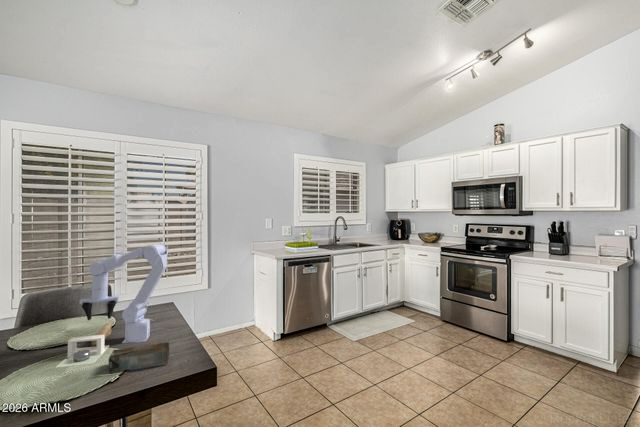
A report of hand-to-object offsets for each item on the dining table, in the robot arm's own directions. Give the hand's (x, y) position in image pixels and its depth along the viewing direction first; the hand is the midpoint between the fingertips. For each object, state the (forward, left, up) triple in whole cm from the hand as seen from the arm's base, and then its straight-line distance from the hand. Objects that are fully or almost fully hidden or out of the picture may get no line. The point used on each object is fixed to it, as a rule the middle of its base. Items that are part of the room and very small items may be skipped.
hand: (99, 318), depth 139 cm
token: (-1, +21, -9) cm, 23 cm away
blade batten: (-1, -1, -10) cm, 10 cm away
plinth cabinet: (-1, +16, -10) cm, 19 cm away
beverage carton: (-23, +31, -10) cm, 40 cm away
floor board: (-1, +17, -10) cm, 20 cm away
